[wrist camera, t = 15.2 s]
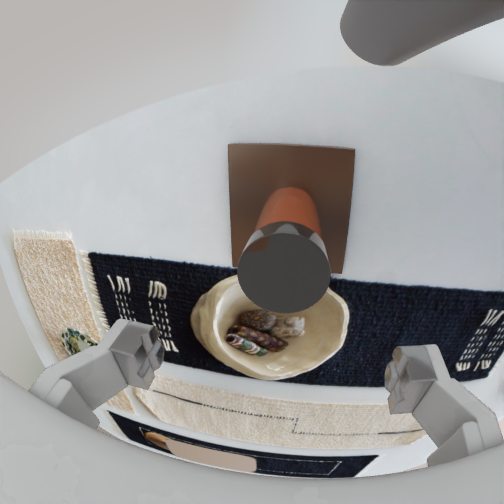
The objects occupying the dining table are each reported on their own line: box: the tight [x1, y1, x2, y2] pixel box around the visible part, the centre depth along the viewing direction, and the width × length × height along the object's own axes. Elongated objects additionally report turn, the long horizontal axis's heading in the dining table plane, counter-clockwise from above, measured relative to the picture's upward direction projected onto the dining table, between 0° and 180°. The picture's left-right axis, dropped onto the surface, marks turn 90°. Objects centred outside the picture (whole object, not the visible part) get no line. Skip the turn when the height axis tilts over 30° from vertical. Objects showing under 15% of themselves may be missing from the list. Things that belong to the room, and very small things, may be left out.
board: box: [228, 143, 355, 274], centre depth 23 cm, size 11×10×1 cm
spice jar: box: [237, 187, 331, 313], centre depth 18 cm, size 5×5×10 cm
